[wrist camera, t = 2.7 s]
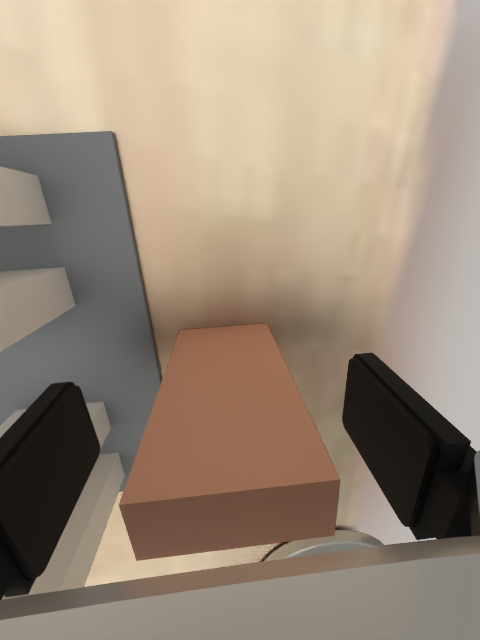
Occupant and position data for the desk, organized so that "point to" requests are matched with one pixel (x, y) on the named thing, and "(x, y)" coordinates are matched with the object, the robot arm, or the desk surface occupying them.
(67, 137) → the charcoal mat
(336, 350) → the desk surface
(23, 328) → the ivory domino
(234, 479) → the terracotta domino
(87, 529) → the ivory domino
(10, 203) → the ivory domino
